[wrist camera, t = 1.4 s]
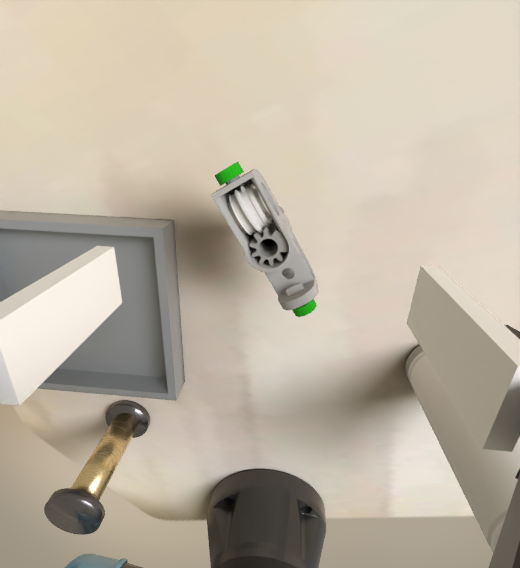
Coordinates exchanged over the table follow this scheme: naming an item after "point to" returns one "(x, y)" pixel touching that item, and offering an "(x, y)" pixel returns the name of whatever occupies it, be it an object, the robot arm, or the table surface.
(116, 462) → the bobbin
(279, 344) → the table surface
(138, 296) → the parts tray
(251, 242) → the mechanical component
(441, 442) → the travel mug
